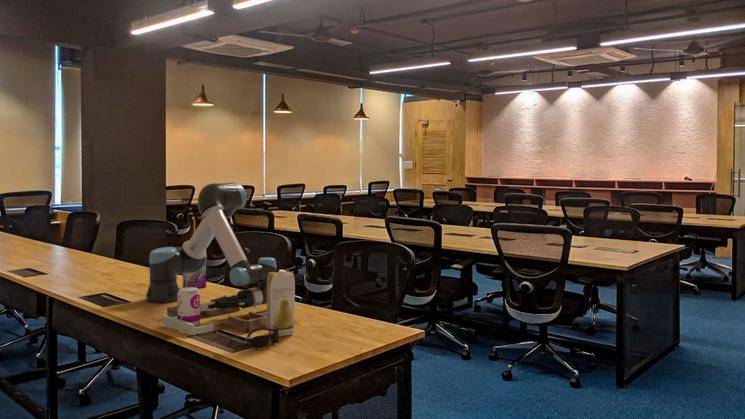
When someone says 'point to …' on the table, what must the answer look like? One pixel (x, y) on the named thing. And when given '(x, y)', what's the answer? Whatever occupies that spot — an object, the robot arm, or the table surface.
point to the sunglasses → (261, 338)
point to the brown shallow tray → (230, 319)
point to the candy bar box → (195, 279)
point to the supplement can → (189, 305)
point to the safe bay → (185, 326)
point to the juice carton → (281, 302)
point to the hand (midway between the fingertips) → (199, 307)
